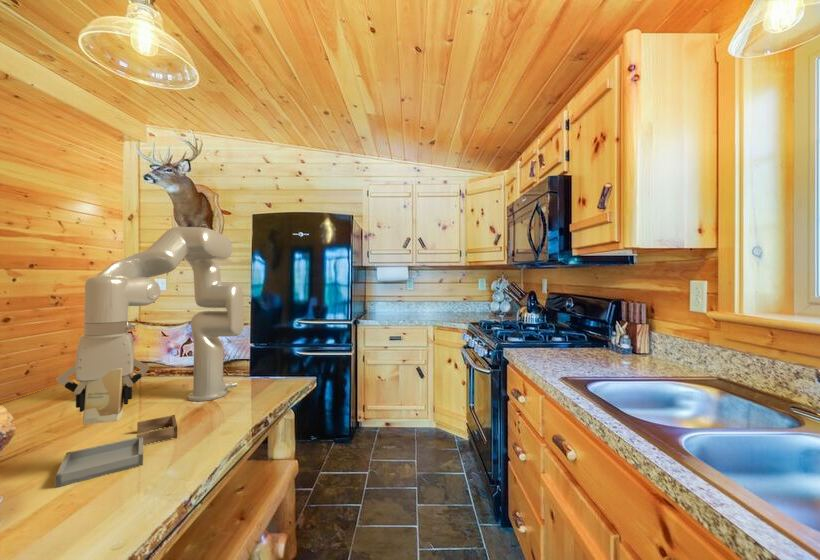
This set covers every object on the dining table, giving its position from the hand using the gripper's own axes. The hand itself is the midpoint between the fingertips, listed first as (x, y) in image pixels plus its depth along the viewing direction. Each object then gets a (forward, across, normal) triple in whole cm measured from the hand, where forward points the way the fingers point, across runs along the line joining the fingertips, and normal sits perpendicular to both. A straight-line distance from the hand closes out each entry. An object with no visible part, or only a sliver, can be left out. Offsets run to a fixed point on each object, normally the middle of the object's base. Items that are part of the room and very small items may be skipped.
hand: (105, 405), depth 78 cm
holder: (+14, -10, -11) cm, 20 cm away
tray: (+14, 0, 0) cm, 14 cm away
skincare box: (+4, 0, 0) cm, 4 cm away
